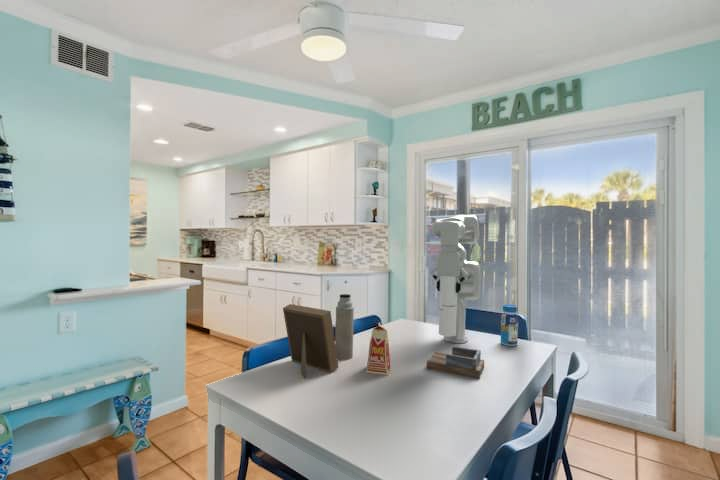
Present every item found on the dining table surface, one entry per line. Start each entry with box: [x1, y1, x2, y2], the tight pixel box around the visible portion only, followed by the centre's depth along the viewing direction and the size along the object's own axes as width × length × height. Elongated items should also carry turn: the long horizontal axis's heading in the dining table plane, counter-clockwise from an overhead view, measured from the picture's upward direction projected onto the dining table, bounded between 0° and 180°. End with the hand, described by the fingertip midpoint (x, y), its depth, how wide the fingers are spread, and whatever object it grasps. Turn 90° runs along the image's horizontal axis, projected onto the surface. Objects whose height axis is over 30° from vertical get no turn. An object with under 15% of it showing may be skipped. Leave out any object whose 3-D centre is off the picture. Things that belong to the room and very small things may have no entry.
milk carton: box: [365, 322, 392, 376], centre depth 147 cm, size 9×9×20 cm
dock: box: [426, 346, 485, 379], centre depth 151 cm, size 14×21×7 cm, turn 64°
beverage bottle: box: [500, 304, 519, 347], centre depth 187 cm, size 8×8×20 cm
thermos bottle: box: [334, 293, 355, 361], centre depth 162 cm, size 8×8×28 cm
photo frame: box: [282, 303, 339, 379], centre depth 145 cm, size 15×22×25 cm
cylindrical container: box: [438, 276, 457, 337], centre depth 153 cm, size 7×7×25 cm
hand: (448, 291), depth 153 cm, fingers closed on cylindrical container, 7 cm apart
